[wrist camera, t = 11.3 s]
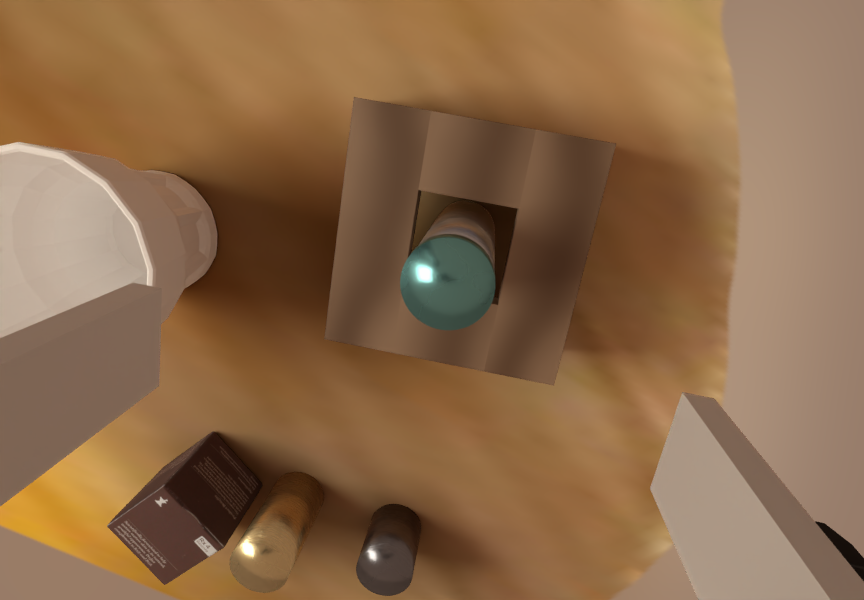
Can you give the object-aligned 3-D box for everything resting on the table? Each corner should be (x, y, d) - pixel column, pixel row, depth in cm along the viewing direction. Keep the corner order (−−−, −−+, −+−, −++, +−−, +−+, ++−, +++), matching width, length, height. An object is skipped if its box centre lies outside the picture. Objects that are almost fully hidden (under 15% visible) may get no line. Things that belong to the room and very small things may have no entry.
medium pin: (272, 509, 46) (227, 585, 38) (276, 466, 45) (231, 536, 37) (320, 520, 46) (285, 598, 38) (326, 477, 44) (291, 549, 37)
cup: (253, 318, 41) (170, 382, 31) (93, 312, 43) (-40, 372, 32) (237, 139, 38) (136, 142, 27) (62, 139, 39) (-99, 141, 28)
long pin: (429, 255, 39) (393, 320, 25) (439, 194, 37) (407, 229, 24) (489, 266, 38) (485, 338, 25) (501, 206, 37) (504, 247, 24)
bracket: (348, 309, 40) (324, 339, 35) (376, 102, 36) (353, 97, 30) (545, 348, 39) (553, 385, 34) (596, 141, 35) (616, 143, 30)
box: (163, 464, 46) (103, 525, 39) (215, 427, 44) (163, 483, 37) (213, 519, 47) (163, 588, 40) (266, 485, 45) (224, 550, 38)
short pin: (367, 541, 46) (352, 588, 41) (374, 499, 45) (360, 543, 40) (416, 551, 45) (407, 601, 41) (425, 510, 44) (416, 555, 40)
